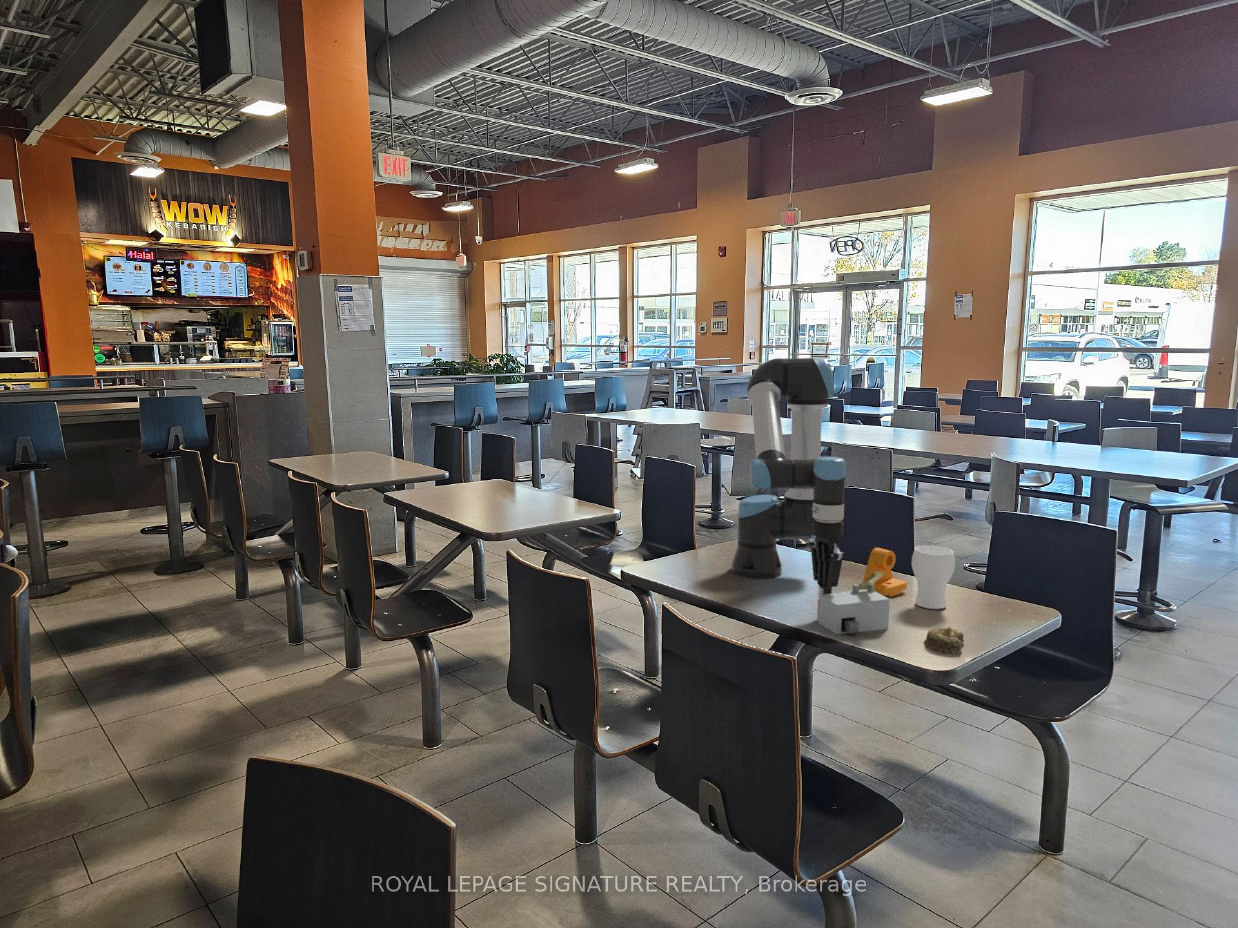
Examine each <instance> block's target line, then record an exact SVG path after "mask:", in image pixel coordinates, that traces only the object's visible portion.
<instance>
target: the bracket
mask: <svg viewBox="0 0 1238 928" xmlns="http://www.w3.org/2000/svg"><path fill="white" fill-rule="evenodd" d="M869 554H870V555H869V559H868V562H867V565H866V568H865V569H866V570H865V572H864V575H863V580H862V582H863V581H865V580H866V579H867V578H868V577H869V576H870V575H872V574H873V573H874V572H883V574H884V575H883V576H882V577H881V578H880V579H878V580H877V581H876V582H875V583H874V591H875V592H877V593H879V594H881V595H883V596H885V597H887V598H892V597H894V596H895V597H896V596H897V595H900V594H903V591H905V590H907V581H904V580H902V579H898V578H894V577H893V574H892V569H893V568H894V566H895V563H896V559H897V558H896V553H895V552H894V551H893V550H888V549H885V548H880V547H874V548H873V549H872V550H871V551H870V553H869ZM862 590H867V589H862Z"/></svg>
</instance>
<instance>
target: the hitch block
mask: <svg viewBox="0 0 1238 928" xmlns="http://www.w3.org/2000/svg"><path fill="white" fill-rule="evenodd" d="M858 585H859V584H856V583H854V584H852V589H851V590H850V591H849V590H848V591H843V592H842V591H841V592H832V593H831V594H822V595H820V597H819V596H818V600H819V620H818V624H820V625H821V626H823V628H826V629H827V630H829V631H830V632H831V633H833V634H835V635H842V634H848V633H847V632H845V631H844V630H842V629H841V621H842V618H852V619H854V620H855V621H857V622H859V627H858V633H862V632H863V633H864V632H873V631H882V630H883V631H885V630H889V620H890V601H891V600H890V599H891V598H890V597H888V596H884V595H881V594H879V593H877V592H875V591H874V584H872V585H871V586H870V589H867V590H863V589H861V590H859V586H858Z"/></svg>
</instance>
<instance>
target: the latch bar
mask: <svg viewBox="0 0 1238 928" xmlns="http://www.w3.org/2000/svg"><path fill="white" fill-rule="evenodd" d="M883 575H884V574H883V572H874V573H873V574H872V575H870V576H869V577H868V578H867V579H866V580H865V581H863V580H862V582H861V583H860V584H857V585H858V586H859V590H863V589H870V586H871V585H872V584H874V583H875V582H876V581H877V580H878V579H880V578H881V577H882V576H883Z"/></svg>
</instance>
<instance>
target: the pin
mask: <svg viewBox="0 0 1238 928" xmlns="http://www.w3.org/2000/svg"><path fill="white" fill-rule="evenodd" d="M816 617H817V619H816V620H818V621H819V599H817V616H816ZM858 627H859V622H857V621H855V620H854V619H852V618H842V621H841V629H842V630H844V631H845V632H847V633H846V634H849V635H850V634H856V633H857V634H858V633H859V632H858Z"/></svg>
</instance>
